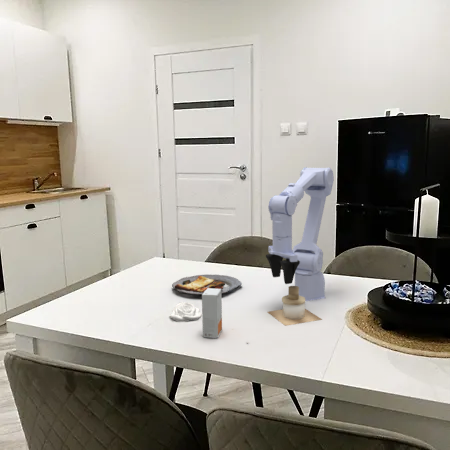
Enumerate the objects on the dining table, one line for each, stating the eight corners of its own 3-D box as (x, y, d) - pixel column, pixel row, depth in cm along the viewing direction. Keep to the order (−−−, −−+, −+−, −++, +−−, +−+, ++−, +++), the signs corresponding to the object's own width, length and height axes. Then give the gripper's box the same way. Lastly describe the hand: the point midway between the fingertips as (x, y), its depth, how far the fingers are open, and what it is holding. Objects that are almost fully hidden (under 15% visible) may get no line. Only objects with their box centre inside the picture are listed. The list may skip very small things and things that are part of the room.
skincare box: (218, 338, 120) (217, 295, 118) (202, 337, 121) (201, 294, 119) (222, 329, 126) (221, 288, 124) (207, 328, 127) (206, 287, 125)
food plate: (214, 303, 148) (214, 292, 147) (159, 293, 160) (159, 283, 159) (251, 285, 169) (251, 276, 168) (199, 278, 181) (199, 269, 180)
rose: (182, 295, 143) (208, 300, 138) (183, 309, 144) (208, 314, 139) (162, 305, 135) (187, 310, 130) (162, 319, 136) (188, 325, 130)
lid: (298, 296, 137) (299, 282, 137) (309, 303, 131) (309, 289, 130) (278, 298, 135) (278, 285, 135) (287, 306, 129) (287, 292, 128)
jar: (298, 310, 138) (298, 296, 137) (308, 317, 132) (309, 302, 131) (279, 313, 136) (279, 299, 135) (289, 320, 130) (289, 305, 129)
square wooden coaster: (301, 308, 142) (301, 306, 142) (322, 321, 130) (322, 319, 130) (266, 313, 138) (266, 311, 138) (285, 327, 126) (285, 325, 126)
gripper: (259, 233, 139) (259, 275, 142) (281, 241, 126) (281, 288, 128) (279, 231, 142) (279, 273, 144) (303, 239, 128) (303, 285, 131)
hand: (282, 280), depth 136 cm, fingers open, 7 cm apart
